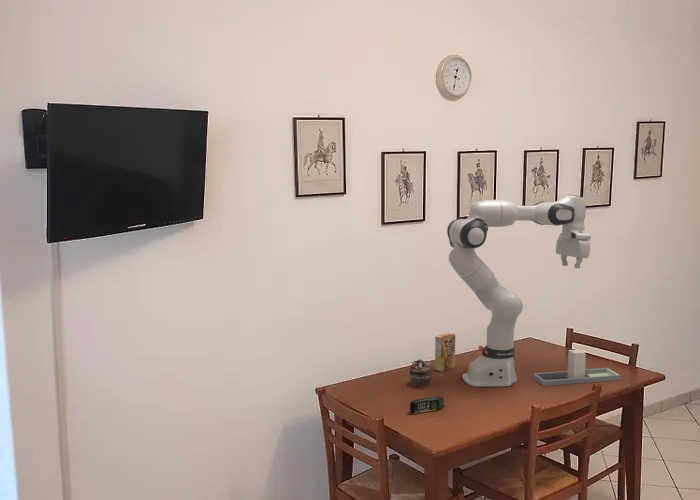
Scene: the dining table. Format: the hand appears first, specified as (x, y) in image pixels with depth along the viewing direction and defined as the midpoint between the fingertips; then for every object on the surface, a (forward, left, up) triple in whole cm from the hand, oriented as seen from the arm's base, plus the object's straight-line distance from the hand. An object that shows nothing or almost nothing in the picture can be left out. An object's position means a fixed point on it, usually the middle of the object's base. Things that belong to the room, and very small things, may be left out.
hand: (570, 267), depth 278 cm
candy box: (-49, +18, -47) cm, 70 cm away
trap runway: (0, -7, -46) cm, 47 cm away
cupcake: (-65, +1, -47) cm, 80 cm away
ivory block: (0, -7, -46) cm, 47 cm away
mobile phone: (-70, -26, -47) cm, 88 cm away
